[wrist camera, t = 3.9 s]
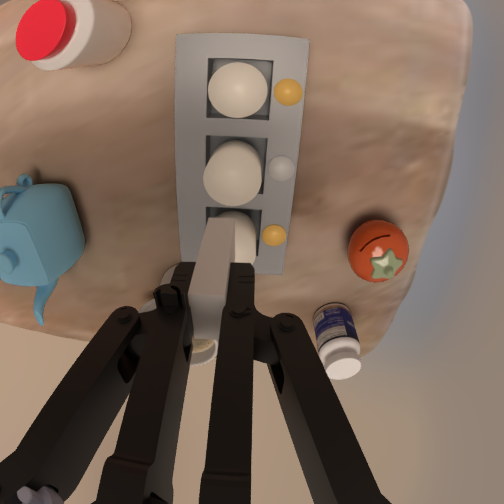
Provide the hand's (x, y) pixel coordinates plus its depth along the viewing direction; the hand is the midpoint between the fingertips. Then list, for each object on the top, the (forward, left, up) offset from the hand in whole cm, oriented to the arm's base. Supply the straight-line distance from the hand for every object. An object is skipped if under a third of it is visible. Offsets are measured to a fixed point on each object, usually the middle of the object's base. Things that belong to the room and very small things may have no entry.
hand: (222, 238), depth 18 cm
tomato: (+17, -8, -17) cm, 25 cm away
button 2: (0, +8, -13) cm, 15 cm away
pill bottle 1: (-15, +15, -17) cm, 27 cm away
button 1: (0, -6, -12) cm, 13 cm away
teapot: (-25, -9, -17) cm, 32 cm away
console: (0, +1, -16) cm, 16 cm away
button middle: (0, +1, -12) cm, 12 cm away
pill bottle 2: (+15, -22, -17) cm, 31 cm away
